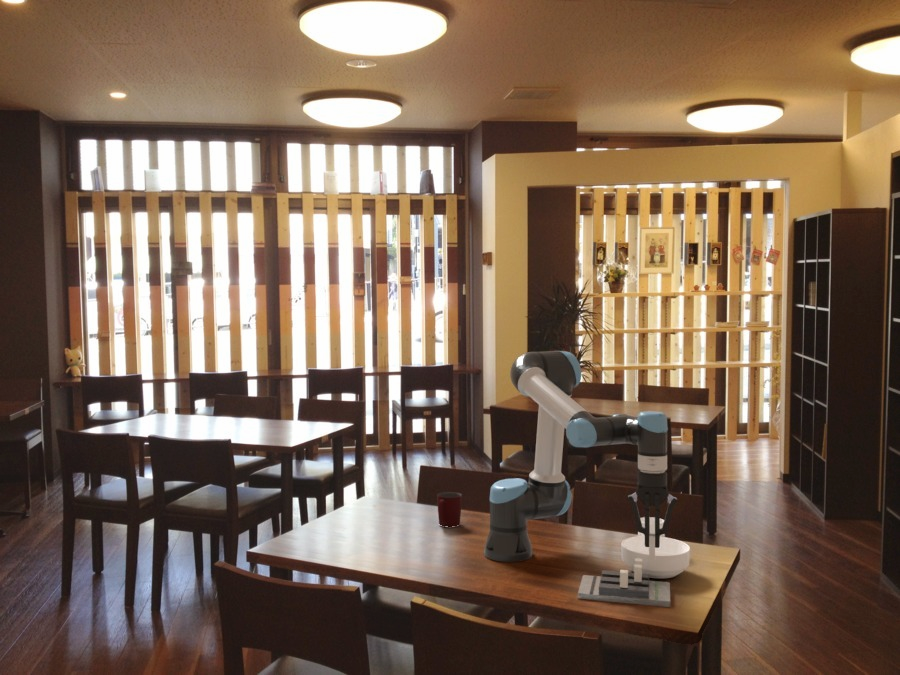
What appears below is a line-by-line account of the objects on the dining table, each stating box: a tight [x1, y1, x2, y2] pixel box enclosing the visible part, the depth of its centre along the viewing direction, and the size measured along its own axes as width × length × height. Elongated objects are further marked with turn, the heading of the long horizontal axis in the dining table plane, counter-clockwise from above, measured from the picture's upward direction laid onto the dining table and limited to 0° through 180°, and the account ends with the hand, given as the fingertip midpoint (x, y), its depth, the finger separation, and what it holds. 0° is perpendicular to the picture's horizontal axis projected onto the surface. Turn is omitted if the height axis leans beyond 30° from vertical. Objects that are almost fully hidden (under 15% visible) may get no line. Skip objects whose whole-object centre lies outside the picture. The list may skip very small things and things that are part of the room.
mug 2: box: [637, 516, 666, 537], centre depth 255 cm, size 12×8×10 cm
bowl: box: [620, 535, 691, 579], centre depth 236 cm, size 20×20×8 cm
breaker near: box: [619, 569, 629, 588], centre depth 214 cm, size 2×2×4 cm
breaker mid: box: [633, 564, 642, 582], centre depth 219 cm, size 2×2×4 cm
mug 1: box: [436, 491, 463, 527], centre depth 286 cm, size 12×9×11 cm
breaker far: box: [635, 558, 642, 565], centre depth 224 cm, size 2×2×4 cm
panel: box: [577, 569, 671, 608], centre depth 220 cm, size 24×15×4 cm, turn 75°
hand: (652, 559), depth 212 cm, fingers closed
